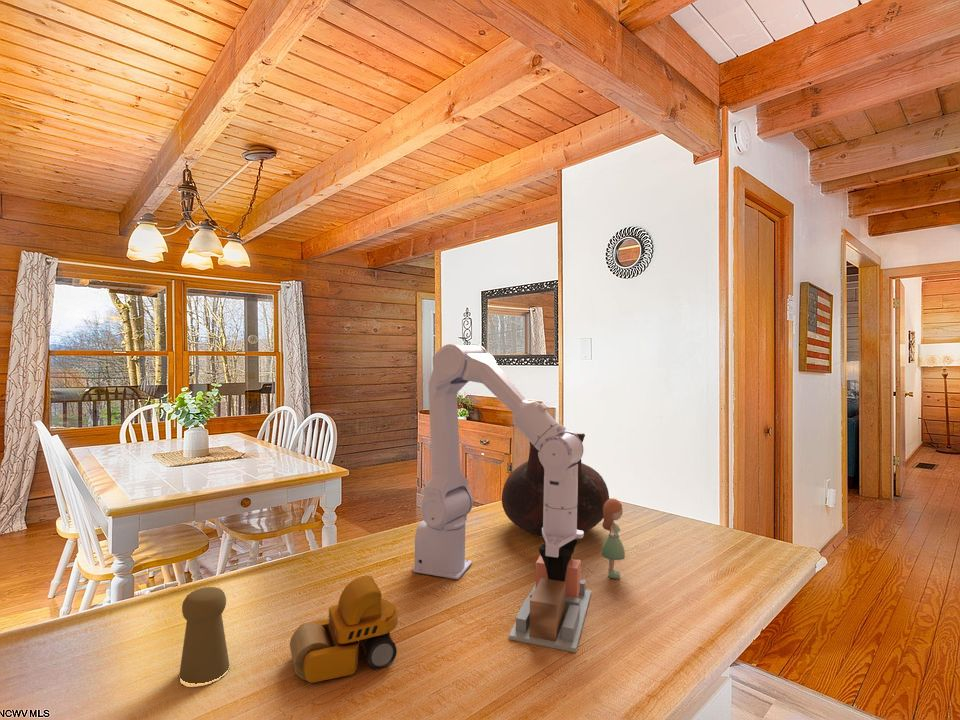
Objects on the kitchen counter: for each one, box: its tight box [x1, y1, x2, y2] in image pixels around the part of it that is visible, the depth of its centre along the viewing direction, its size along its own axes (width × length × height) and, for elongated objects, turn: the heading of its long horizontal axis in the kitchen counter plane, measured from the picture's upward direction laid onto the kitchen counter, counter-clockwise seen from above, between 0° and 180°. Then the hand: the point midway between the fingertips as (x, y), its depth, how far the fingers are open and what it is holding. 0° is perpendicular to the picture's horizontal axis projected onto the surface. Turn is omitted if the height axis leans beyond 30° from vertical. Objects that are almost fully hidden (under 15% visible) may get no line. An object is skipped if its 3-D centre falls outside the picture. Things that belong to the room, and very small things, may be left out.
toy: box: [601, 497, 626, 579], centre depth 101 cm, size 13×4×15 cm, turn 168°
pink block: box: [535, 554, 581, 598], centre depth 91 cm, size 7×4×6 cm, turn 72°
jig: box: [508, 578, 592, 653], centre depth 87 cm, size 10×19×3 cm, turn 161°
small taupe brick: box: [529, 578, 566, 642], centre depth 82 cm, size 4×8×6 cm, turn 161°
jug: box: [501, 433, 610, 538], centre depth 125 cm, size 25×25×25 cm
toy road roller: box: [289, 575, 399, 683], centre depth 74 cm, size 9×14×10 cm, turn 116°
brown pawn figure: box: [178, 586, 230, 684], centre depth 70 cm, size 6×6×11 cm
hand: (558, 582), depth 91 cm, fingers closed on pink block, 4 cm apart
